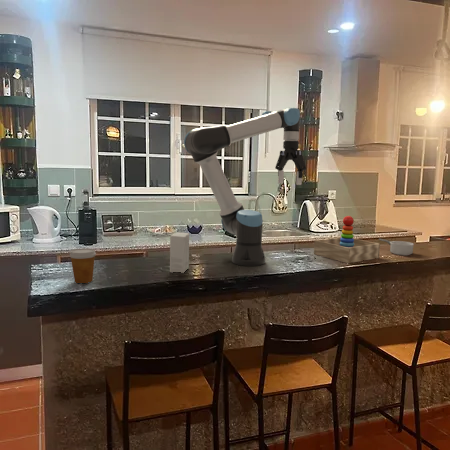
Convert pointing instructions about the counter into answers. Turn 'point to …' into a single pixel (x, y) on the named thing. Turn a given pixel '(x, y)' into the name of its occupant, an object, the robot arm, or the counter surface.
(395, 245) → the saucepan
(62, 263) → the counter surface
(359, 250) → the open-top box
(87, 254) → the disposable coffee cup
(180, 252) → the skincare box
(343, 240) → the stacking toy
